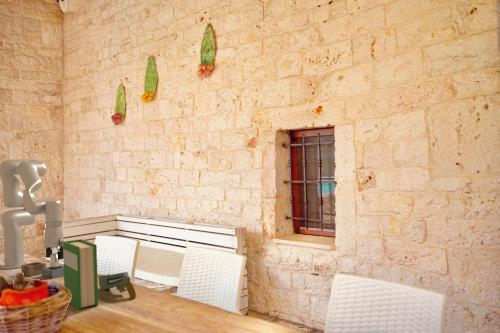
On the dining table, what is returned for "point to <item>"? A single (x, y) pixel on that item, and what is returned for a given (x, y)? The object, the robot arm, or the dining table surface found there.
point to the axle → (54, 261)
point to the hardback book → (81, 272)
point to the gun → (117, 283)
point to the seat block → (53, 272)
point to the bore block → (33, 268)
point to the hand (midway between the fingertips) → (54, 258)
